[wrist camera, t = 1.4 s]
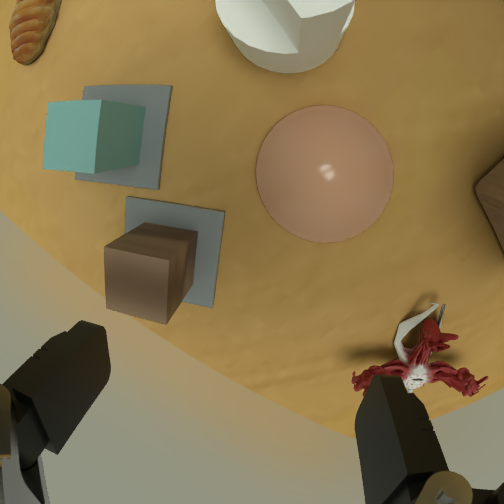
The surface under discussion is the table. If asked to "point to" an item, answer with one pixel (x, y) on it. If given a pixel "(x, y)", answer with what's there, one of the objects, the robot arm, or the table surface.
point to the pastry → (31, 28)
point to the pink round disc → (324, 174)
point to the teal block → (92, 135)
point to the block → (493, 198)
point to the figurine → (422, 359)
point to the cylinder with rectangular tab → (286, 30)
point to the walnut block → (150, 271)
